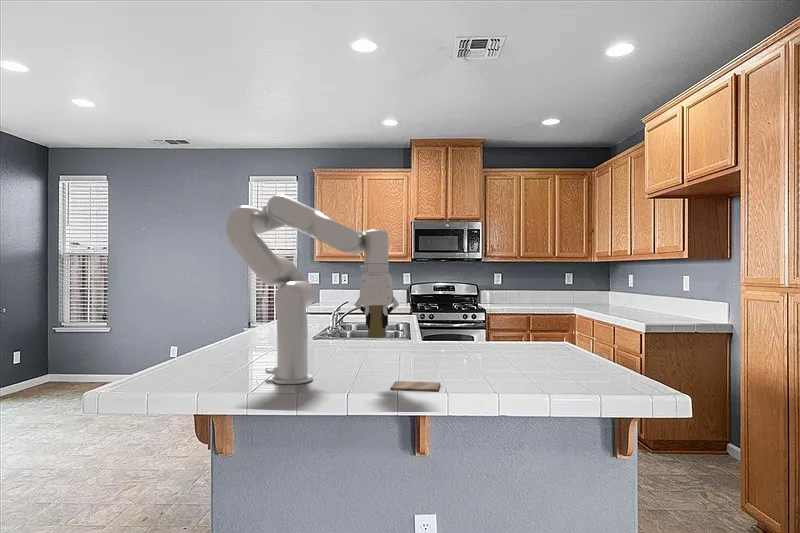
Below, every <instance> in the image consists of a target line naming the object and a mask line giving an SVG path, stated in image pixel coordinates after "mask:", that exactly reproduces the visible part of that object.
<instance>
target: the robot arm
mask: <svg viewBox="0 0 800 533" xmlns="http://www.w3.org/2000/svg"><path fill="white" fill-rule="evenodd" d="M225 225H226V226H225V230H226V236H227V237H228V238H227V239H228V241H229V242H230V244H231V246H232V247H233V248H234V249H235V250H236V252H237V253H238V254H239V255H240V257H241V258H242V259H243V260H244V261H245V263H246V264H247V265H248V267H249V268H250V269H251V270H252V272H254V274H255V275H256V277H257V278H258V279H259V280H260V282H261V283H263V284H265V285H267V286H276V288H277V289H276V292H275V295H274V305H275V307H274V308H275V312H276V314H275V315H276V333H277V336H276V337H277V340H276V341H277V342H276V346H277V347H276V348H277V350H276V352H277V353H276V356H277V359H276V362H277V364H276V366H274V367H272V366H266V367H265V369H264V370H265V374H267V375H271V374H272V375H273V377H272V379H271V380H272V383H275V384H278V385H302V384H305V383H308V382H312V380H313V375H312V374H309V373H308V371H309V370H308V369H309V368H308V366H309V365H308V364H309V363H308V351H309V350H308V349H309V348H308V345H309V344H308V337H309V336H308V334H309V333H308V316H307V315H308V314H307V308H309V307H310V306H311V305H312V304H313V303H314V301H315V298H316V294H315V293H316V292H315V289H314V287H313V286H312V284H311V282H310V281H309V280H308V279H307V278H306V276H305V275H303V273H302V272H301V271H300V269H299V268H298V267H297V266H296V265H295V264H294V263H293V262H292V261H291V260H290V259H288V258H287V257H285V256H281V255H280V256H278V255H276V254H275V253H274V252H273V251H272V250H271V249H270V248H269V246H268V245H267V244H266V243H265V241H264V240H263V239H262V238H260V236H258V234H264V233H266V232H270V231H272V230H276V229H279V228H282V227H285V226H287V227H290V228H291V229H294V230H296V231H298V232H300V233H302V234H304V235H305V236H308V237H310V238H313V239H315V240H317V241H318V242H321V243H322V244H326V245H327V246H329V247H331V248H333V249H336V250H338V251H339V252H342V253H345V254H352V255H356V254H363V253H364V255H363V256H364V258H363V259H364V263H363V265H360V266H359V271H363V273H362V274H361V277H360V284H359V297H358V298H357V300H356V301H355V303H354V307H355V308H357V309H358V310H360V311H361V312H362V313H363V314H364V316H365V326H367V329H368V328H369V326H370V311H369V306H383V316H382V325H383V328H384V329H385V328H386V329H387V326H388V325H389V315H390V314H391V312H392V311H394V310H395V309H396V308H398V307H399V305H400V304H399V302H398V301H397V299H396V297H395V296H394V288H393V280H392V275H391V273H389V234H388V232H387V231H386V230H385V229H370V230H369V229H368V230H366V231H361V230H356V229H353V228H350V227H348V226H346V225H343V224H341V223H339V222H338V221H335V220H333V219H331V218H329V217H328V216H326V215H324V214H323V213H322V212H321V211H320V210H317V209H315V208H314V207H311V206H308V205H307V204H305V203H302V202H300V201H298V200H296V199H294V198H292V197H290V196H288V195H285V194H275V195H273V196H272V197H271V198H270V199H269V200H268V201H267V204H266V205H265V206H262V207H255V206H251V205H242V204H241V205H239V206H236V207H233V209H232V210H231V211H230V212H229V214H228V216H227V219H226V224H225ZM390 305H391V306H390Z"/></svg>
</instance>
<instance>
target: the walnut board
mask: <svg viewBox="0 0 800 533" xmlns="http://www.w3.org/2000/svg"><path fill="white" fill-rule="evenodd" d="M440 386H441V382H435V381H433V382H432V381H431V382H430V381H404V380H403V381H402V380H401V381H399V380H397V381H396V380H395V381H394V382H393V384H392V385H391V386H390V391H411V390H412V392H413V391H415V392H416V391H418V392H439V389H440Z"/></svg>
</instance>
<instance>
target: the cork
mask: <svg viewBox="0 0 800 533" xmlns="http://www.w3.org/2000/svg"><path fill="white" fill-rule="evenodd" d="M369 311H370V326H369V328H368V327H367V330H368V331H367V338H373V339H374V338H376V339H378V338H386V337H388V335H387V330H386V329H387V327H386V328H385V329H384V328H383V325H382V316H383V314H384V311H383V306H369Z"/></svg>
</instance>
